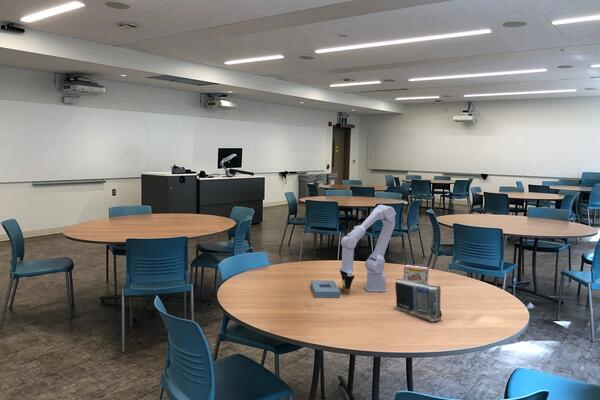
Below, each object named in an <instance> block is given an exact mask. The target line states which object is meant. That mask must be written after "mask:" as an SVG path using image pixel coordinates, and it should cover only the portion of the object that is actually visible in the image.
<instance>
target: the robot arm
mask: <svg viewBox="0 0 600 400" xmlns="http://www.w3.org/2000/svg"><path fill="white" fill-rule="evenodd" d="M396 215H397V212H396V211H395V209H394V207H393V206H388V205H384V204H378V205H377V206H376V207H375V208H374V209H373V210H372V212H371V213H370V214H369V215H368V217H367V218H366V219H365V220H364V221H363V222H362V223H361V224H360V225H356V226H354V227H353V229H352V230H351V232H348V233H347V235H344V236H343V237H342V238H341V241H340V245H341V247H342V248H341V249H342V250H341V268H340V267H339V269H338V270H339V273H340V275H341V281H342V283H343V279H344V280H345V288H346V289H350V290H351V288H352V283H353V281H354V279H355V275H353V272H354V252H355V251H354V250H355V249H354V248H356V246H357V243H358V242H359V240H361V239H362V238H363V237H364V236H365V234H366V230H367V229H369V228H370V227H371V226H373V224H374V223H375V222H376V221H381V222H382V228H381V231H380V234H379V237H378V239H377V241H376V245H375V248H374V251H373V252H372V253H371V254H370V255H369V257H368V258H367V259H366V261H365V263H364V264H365V265H364V266H365V268H366V271H367V272H366V286H364V289H365V290H366V291H367V292H368V293H369V292H372V293H373V292H374V293H375V292H377V293H378V292H379V293H380V292H387V291H386V289H387V287H386V285H387V275H386V273H385V272H384V269H385V263H386V260H385V254H386V251H387V248H388V244H389V243H390V240H391V237H392V233H393V232H394V229H395V226H396Z"/></svg>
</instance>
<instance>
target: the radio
mask: <svg viewBox="0 0 600 400" xmlns="http://www.w3.org/2000/svg"><path fill="white" fill-rule="evenodd" d="M394 284H395V285H394V287H395V288H394V289H395V298H396V299H395V300H396V301H395V302H396V305H395V306H396V307H394V309H395V310H396V311H399V312H400V311H401V312H403V313H406V314H408V315H411V316H414V317H416V318H419V319H422V320H425V321H427V322H430V323H434V322H437V321H441V320H442V318H443V317H442V316H443V314H442V310H441V301H442V300H441V286H440V285H430V284H428V285H427V284H421V283H418V282H414V281H408V280H404V279H403V278H397V279H396V281H395V282H394Z"/></svg>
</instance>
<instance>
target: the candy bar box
mask: <svg viewBox="0 0 600 400" xmlns="http://www.w3.org/2000/svg"><path fill="white" fill-rule="evenodd" d="M429 271H430V268H429V267H428V266H427V267H425V266H419V265H411V264H406V265H404V267H403V278H402V279H404V280H408V281H414V282H418V283H421V284H427V285H429Z"/></svg>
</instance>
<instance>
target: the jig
mask: <svg viewBox="0 0 600 400" xmlns="http://www.w3.org/2000/svg"><path fill="white" fill-rule="evenodd" d="M310 288H311V291H312V293H313V296H314V298H315V299H317V298H318V299H319V298H320V299H324V298H325V299H328V298H329V299H340V298H341V291H340V289H339V288H338V286H337V284H336V282H335V280H314V279H313V280H310Z"/></svg>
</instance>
